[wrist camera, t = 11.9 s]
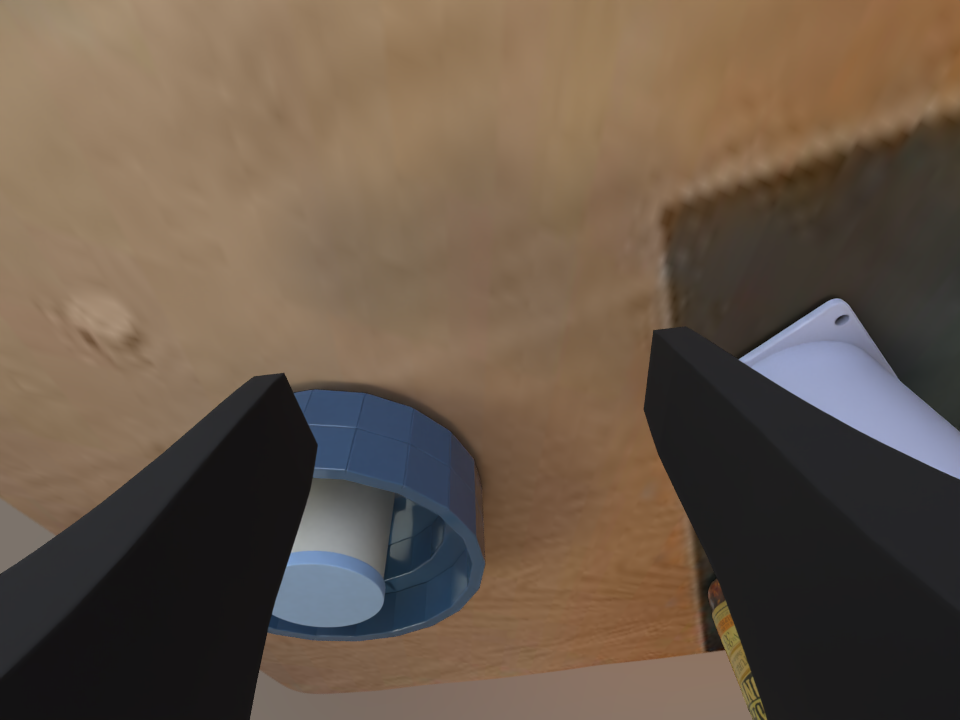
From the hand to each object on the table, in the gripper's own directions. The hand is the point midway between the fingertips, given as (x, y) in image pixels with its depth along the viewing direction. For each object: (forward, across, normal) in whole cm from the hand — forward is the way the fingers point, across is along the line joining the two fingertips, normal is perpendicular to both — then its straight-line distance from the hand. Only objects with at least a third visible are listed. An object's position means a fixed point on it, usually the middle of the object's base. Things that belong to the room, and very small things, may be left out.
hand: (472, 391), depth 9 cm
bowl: (+9, +8, +14) cm, 18 cm away
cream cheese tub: (+9, +8, +14) cm, 18 cm away
